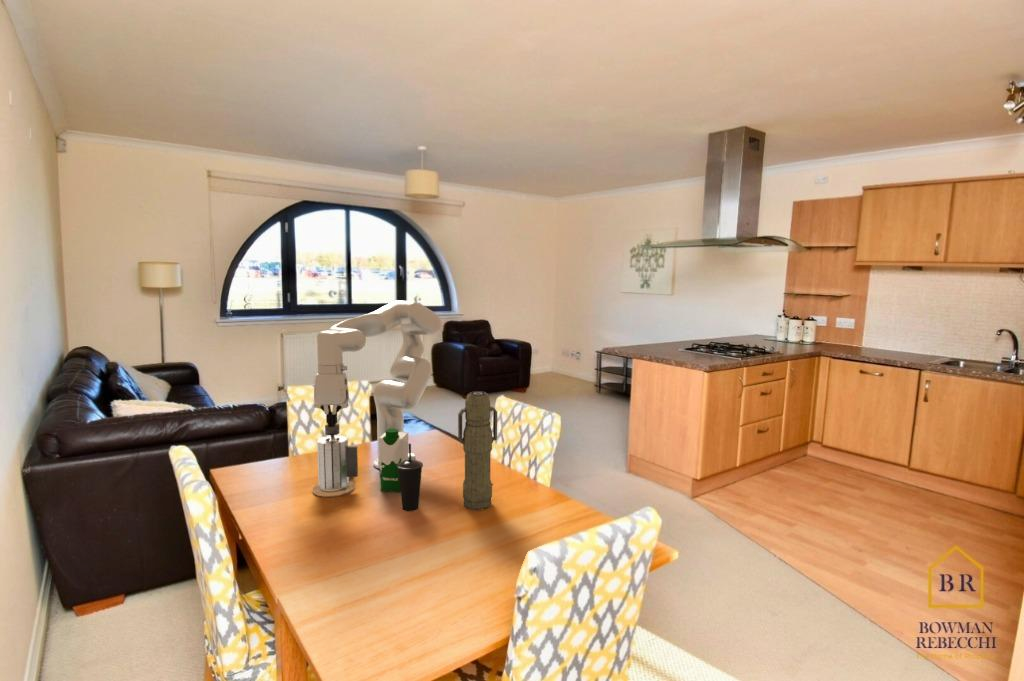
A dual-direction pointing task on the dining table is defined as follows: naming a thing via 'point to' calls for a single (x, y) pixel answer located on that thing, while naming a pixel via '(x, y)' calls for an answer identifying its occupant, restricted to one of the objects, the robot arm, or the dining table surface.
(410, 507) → the drinking cup
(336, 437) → the cafetiere
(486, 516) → the dining table surface
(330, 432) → the plunger
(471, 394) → the thermos
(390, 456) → the milk carton
